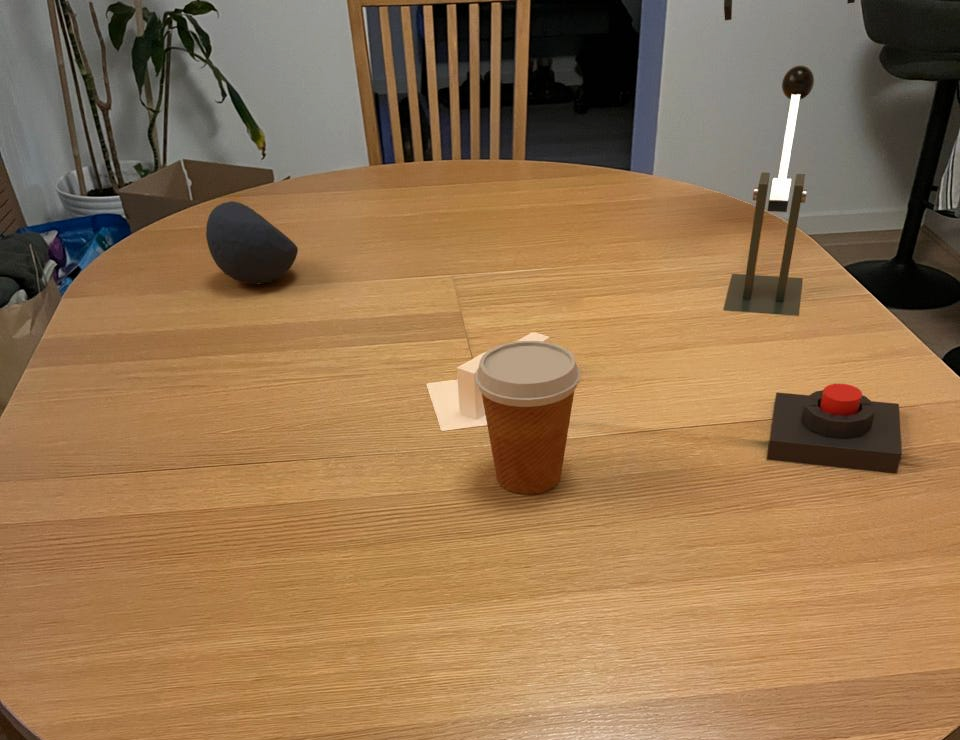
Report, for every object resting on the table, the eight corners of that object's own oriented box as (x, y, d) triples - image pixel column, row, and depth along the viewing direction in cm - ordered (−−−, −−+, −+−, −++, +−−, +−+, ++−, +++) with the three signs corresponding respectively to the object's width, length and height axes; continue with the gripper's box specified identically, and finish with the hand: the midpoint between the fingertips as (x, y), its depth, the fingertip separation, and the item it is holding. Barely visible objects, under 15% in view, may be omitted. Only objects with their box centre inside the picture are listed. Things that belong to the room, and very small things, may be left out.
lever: (783, 78, 116) (785, 58, 113) (814, 79, 116) (817, 58, 112) (761, 213, 115) (763, 197, 112) (792, 215, 114) (795, 198, 111)
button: (858, 401, 95) (862, 385, 94) (858, 419, 92) (862, 402, 91) (820, 398, 96) (823, 381, 94) (819, 415, 93) (822, 399, 92)
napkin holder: (552, 366, 111) (553, 318, 107) (579, 412, 103) (581, 362, 99) (424, 383, 109) (420, 335, 105) (441, 432, 101) (437, 381, 97)
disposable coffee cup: (464, 493, 92) (457, 377, 84) (500, 445, 98) (497, 332, 90) (559, 511, 89) (561, 393, 81) (590, 460, 95) (594, 345, 87)
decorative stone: (242, 305, 128) (226, 228, 121) (202, 281, 135) (184, 206, 129) (317, 281, 133) (306, 206, 127) (275, 258, 140) (261, 186, 134)
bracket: (730, 282, 127) (746, 162, 117) (801, 287, 125) (823, 165, 115) (721, 319, 119) (738, 193, 109) (797, 325, 116) (821, 197, 107)
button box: (893, 423, 98) (903, 386, 96) (896, 474, 91) (907, 436, 89) (772, 411, 101) (779, 375, 99) (766, 459, 94) (773, 423, 92)
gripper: (911, -188, 109) (901, 7, 111) (687, -146, 116) (681, 37, 118) (921, -242, 102) (911, -32, 103) (682, -193, 109) (675, 2, 110)
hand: (788, 5), depth 110 cm, fingers open, 13 cm apart
